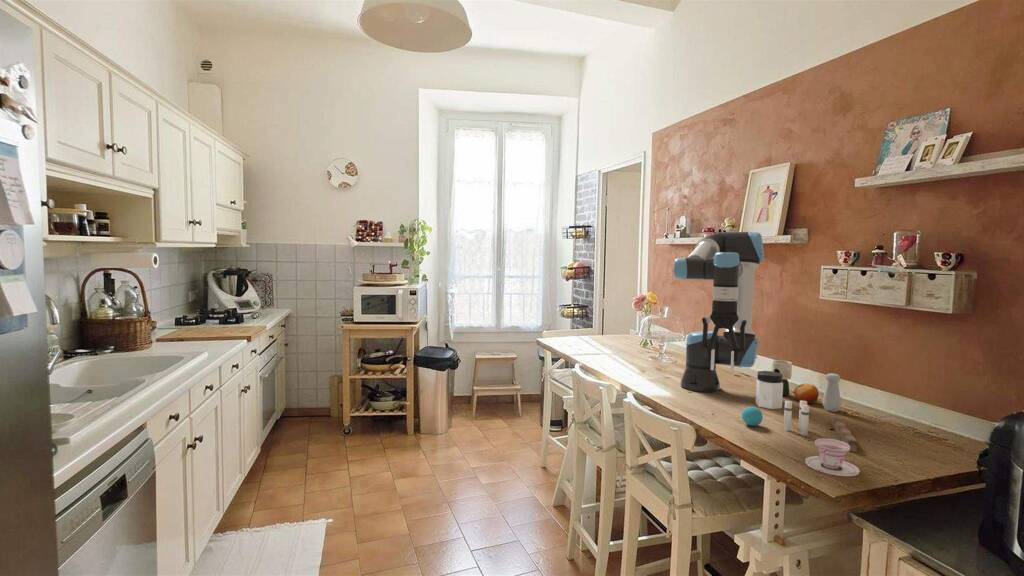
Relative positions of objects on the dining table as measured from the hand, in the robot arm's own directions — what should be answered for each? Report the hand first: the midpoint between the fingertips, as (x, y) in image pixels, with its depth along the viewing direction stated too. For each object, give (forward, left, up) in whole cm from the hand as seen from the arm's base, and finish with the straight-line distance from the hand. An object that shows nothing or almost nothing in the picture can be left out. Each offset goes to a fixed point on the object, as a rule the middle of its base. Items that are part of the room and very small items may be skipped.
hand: (722, 370), depth 164 cm
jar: (-16, +25, -17) cm, 34 cm away
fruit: (-21, +42, -17) cm, 50 cm away
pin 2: (+13, +20, -17) cm, 29 cm away
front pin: (+9, +17, -17) cm, 26 cm away
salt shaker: (-11, +45, -17) cm, 50 cm away
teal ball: (+5, +8, -14) cm, 17 cm away
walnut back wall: (+15, +31, -17) cm, 38 cm away
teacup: (+36, +13, -17) cm, 42 cm away
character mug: (-31, +38, -17) cm, 52 cm away
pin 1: (+9, +22, -17) cm, 29 cm away
